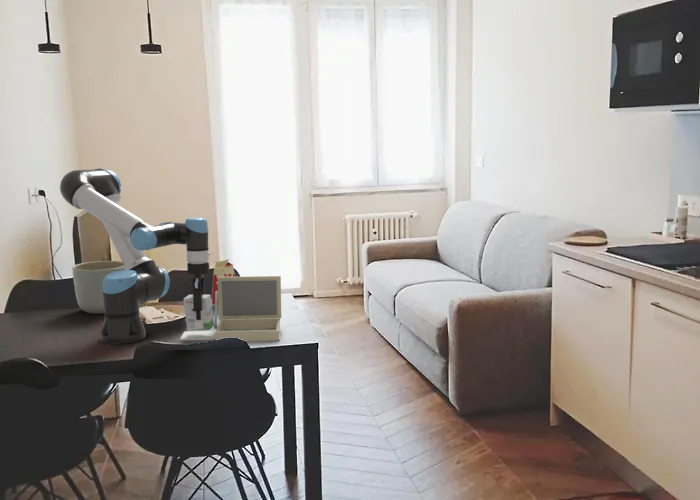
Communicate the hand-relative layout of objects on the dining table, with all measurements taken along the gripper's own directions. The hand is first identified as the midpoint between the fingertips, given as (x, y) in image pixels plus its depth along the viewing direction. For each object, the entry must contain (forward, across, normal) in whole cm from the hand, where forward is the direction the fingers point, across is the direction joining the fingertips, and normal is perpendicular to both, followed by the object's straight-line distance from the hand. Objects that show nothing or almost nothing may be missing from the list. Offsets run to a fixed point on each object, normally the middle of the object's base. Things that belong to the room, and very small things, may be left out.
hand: (200, 325), depth 238 cm
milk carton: (+4, +46, -4) cm, 47 cm away
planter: (+4, +40, +45) cm, 61 cm away
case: (+4, +2, -17) cm, 17 cm away
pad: (+4, 0, 0) cm, 4 cm away
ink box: (+1, 0, 0) cm, 1 cm away
